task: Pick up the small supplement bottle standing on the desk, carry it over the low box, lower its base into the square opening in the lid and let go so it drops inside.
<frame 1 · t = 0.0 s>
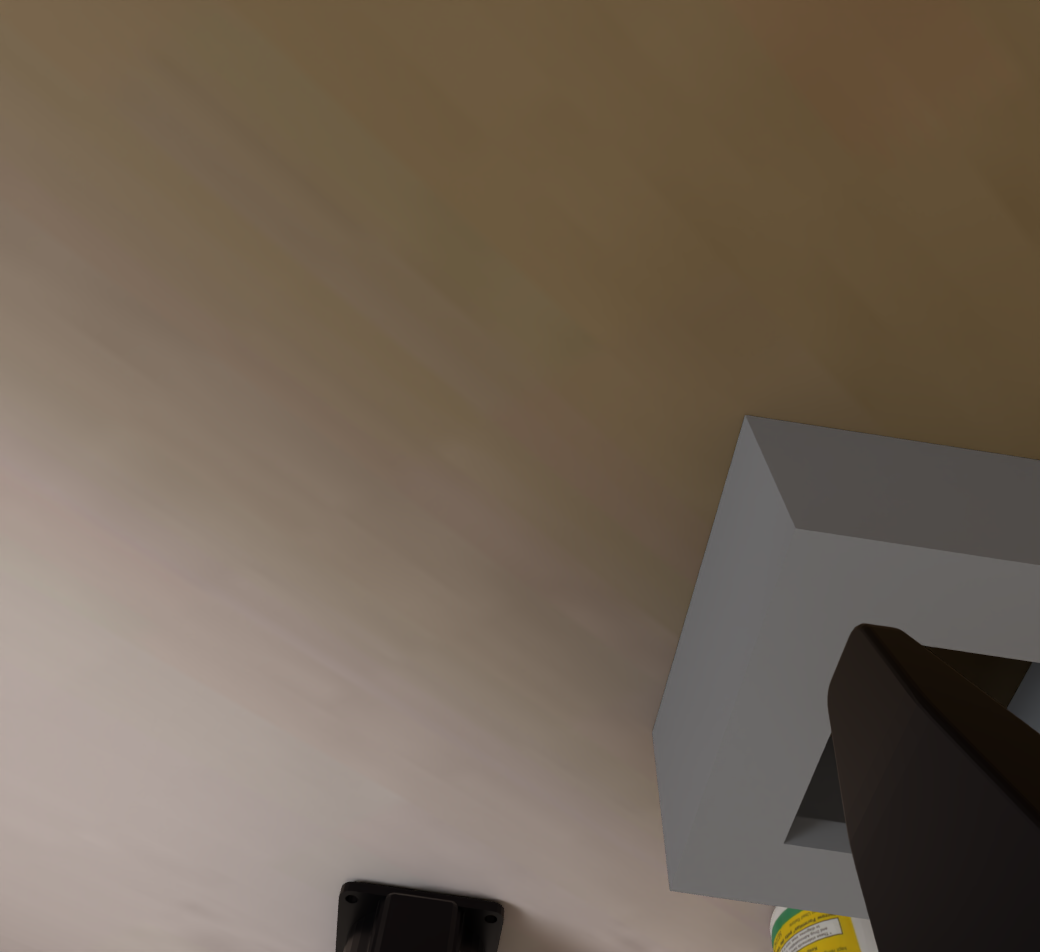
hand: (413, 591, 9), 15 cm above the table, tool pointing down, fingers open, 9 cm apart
supplement bottle: (835, 911, 33), on the table
drop box: (884, 619, 26), on the table
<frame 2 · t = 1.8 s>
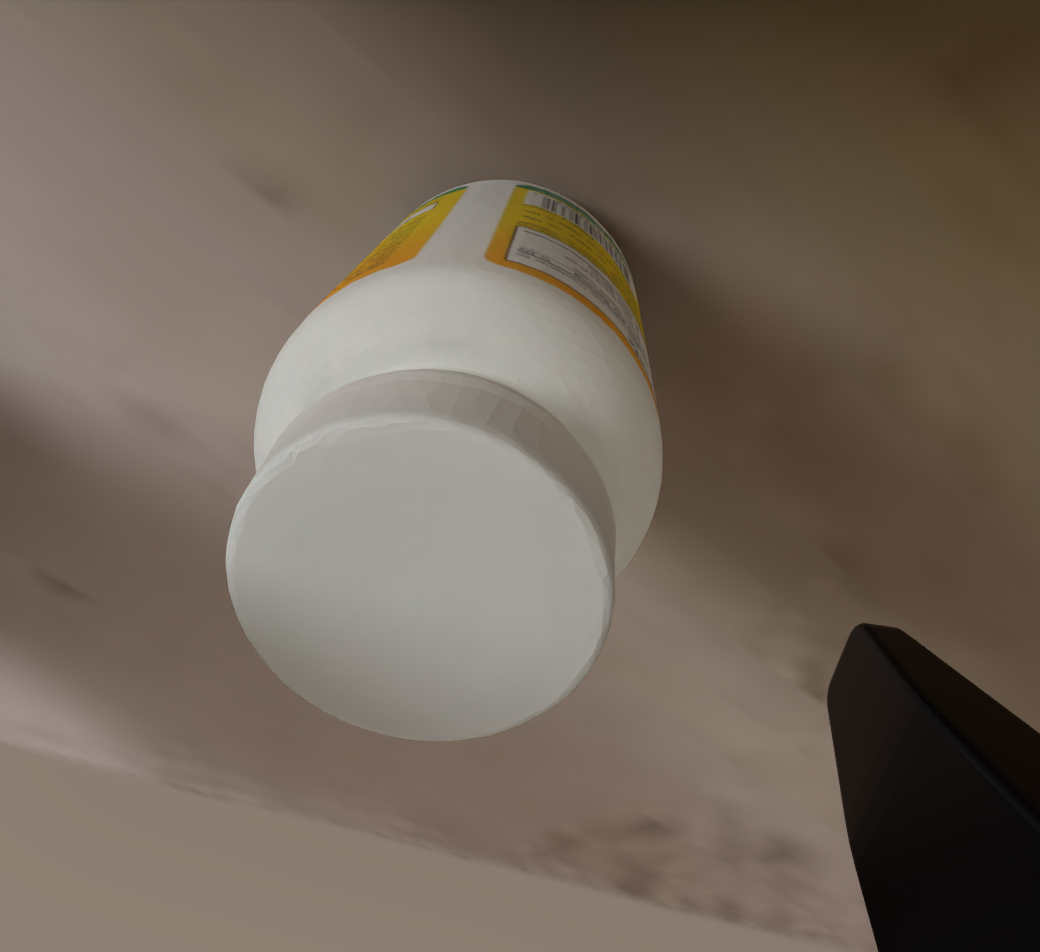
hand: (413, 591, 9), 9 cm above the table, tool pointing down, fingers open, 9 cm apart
supplement bottle: (501, 311, 17), on the table
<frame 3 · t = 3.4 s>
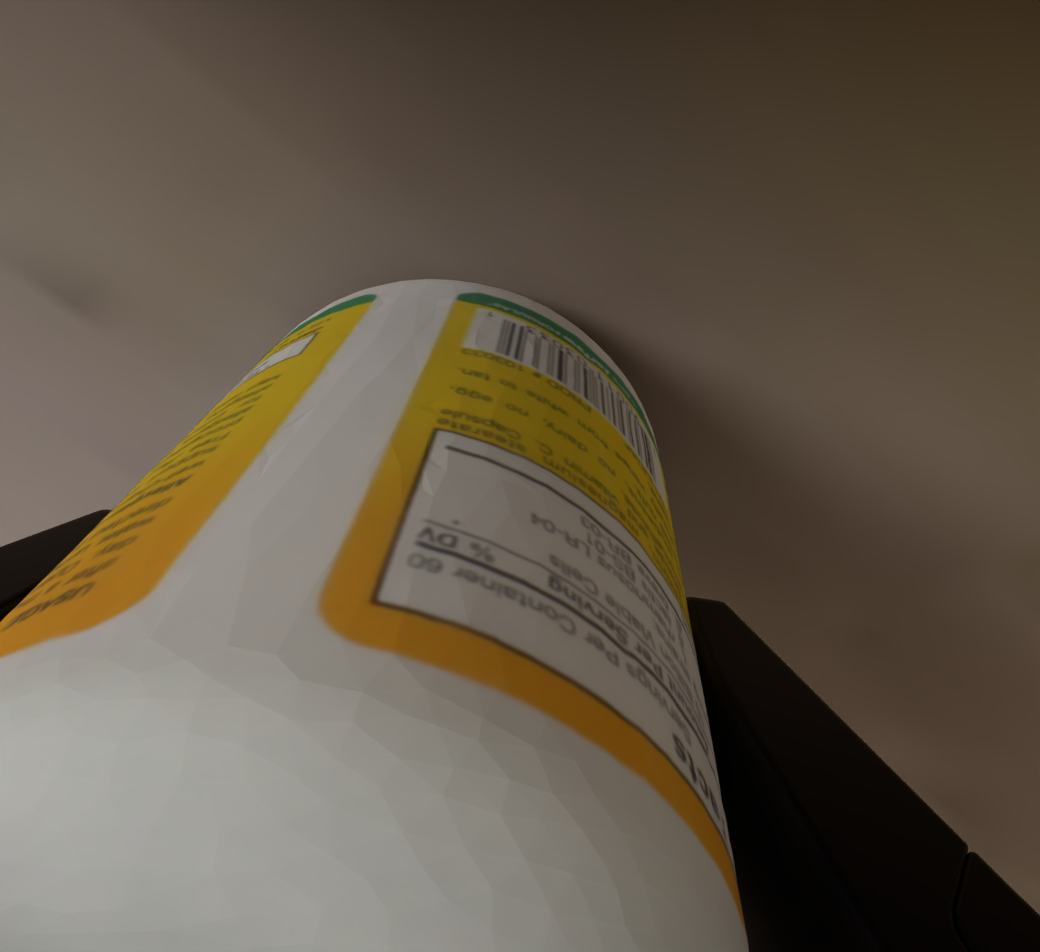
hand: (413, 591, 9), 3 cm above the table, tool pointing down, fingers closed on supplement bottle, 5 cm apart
supplement bottle: (447, 469, 11), on the table, touching gripper
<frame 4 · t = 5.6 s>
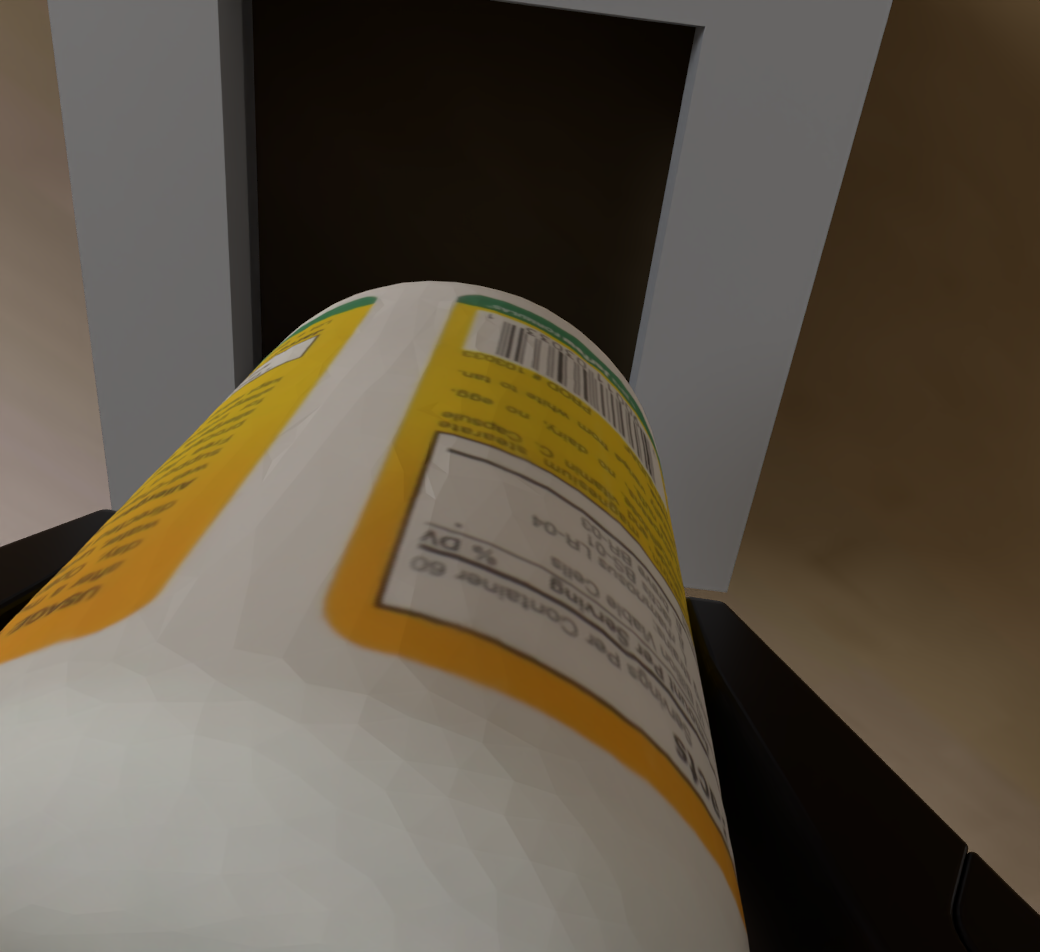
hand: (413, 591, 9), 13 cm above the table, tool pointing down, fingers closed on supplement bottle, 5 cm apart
supplement bottle: (447, 469, 11), point 10 cm above the table, touching gripper
drop box: (478, 185, 19), on the table
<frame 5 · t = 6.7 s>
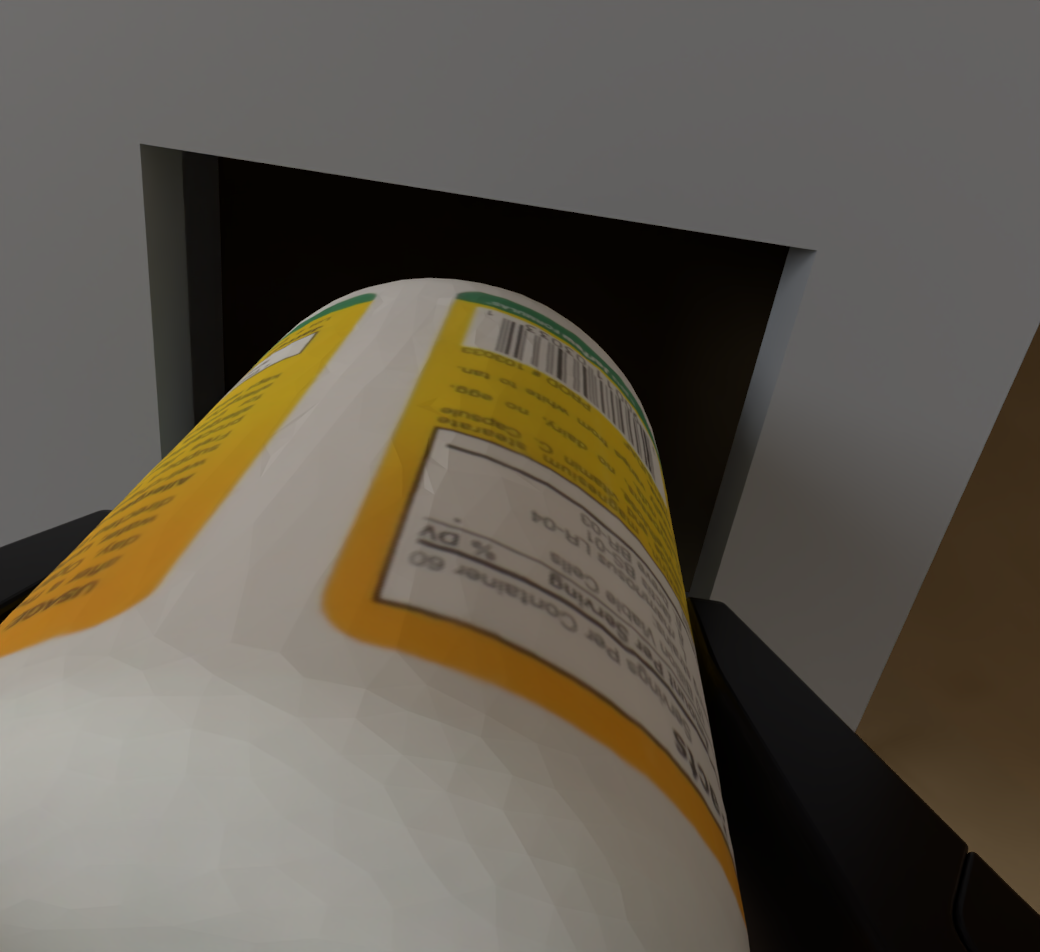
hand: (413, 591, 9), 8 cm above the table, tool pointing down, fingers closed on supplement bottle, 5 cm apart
supplement bottle: (447, 467, 11), point 5 cm above the table, touching gripper
drop box: (490, 334, 16), on the table
when the fingers open (8 cm above the table, at t = 7.7 s): supplement bottle drops 5 cm, resting in drop box.
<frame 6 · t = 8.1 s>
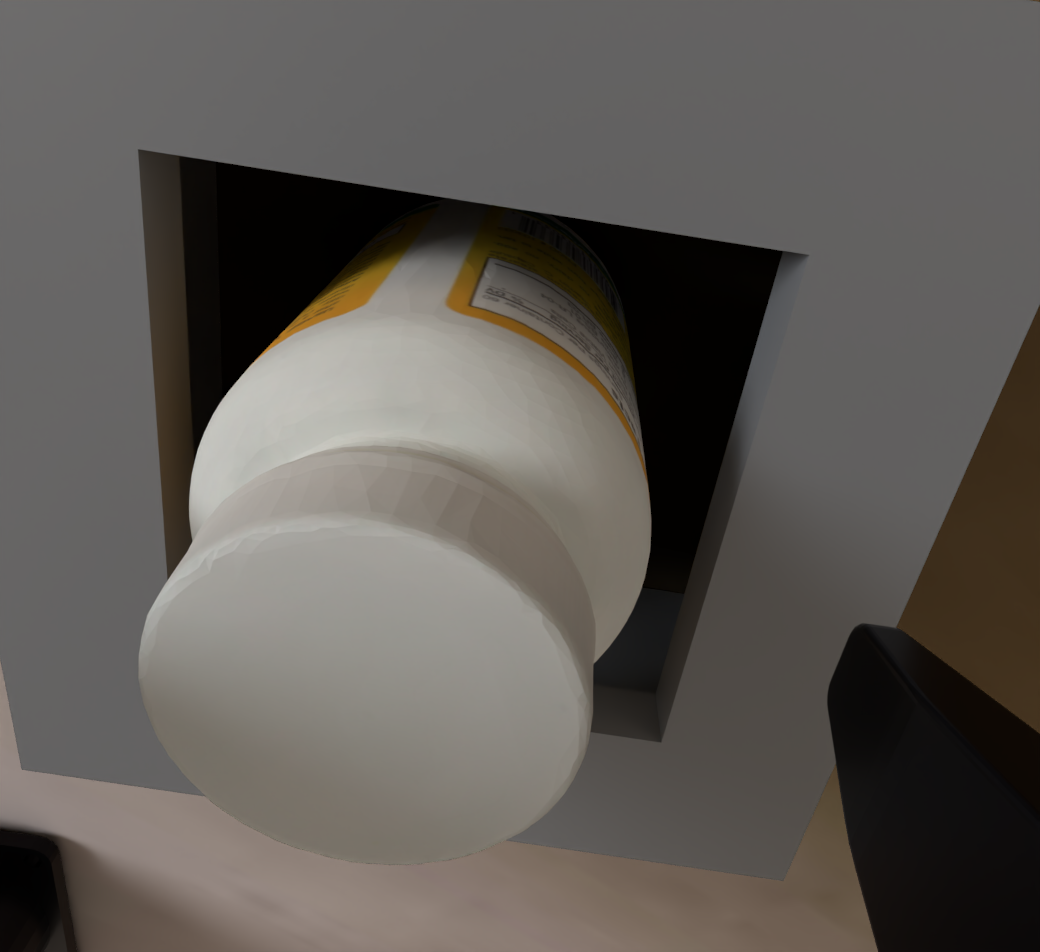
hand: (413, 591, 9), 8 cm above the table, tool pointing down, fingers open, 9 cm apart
supplement bottle: (480, 335, 16), resting in drop box
drop box: (487, 337, 16), on the table
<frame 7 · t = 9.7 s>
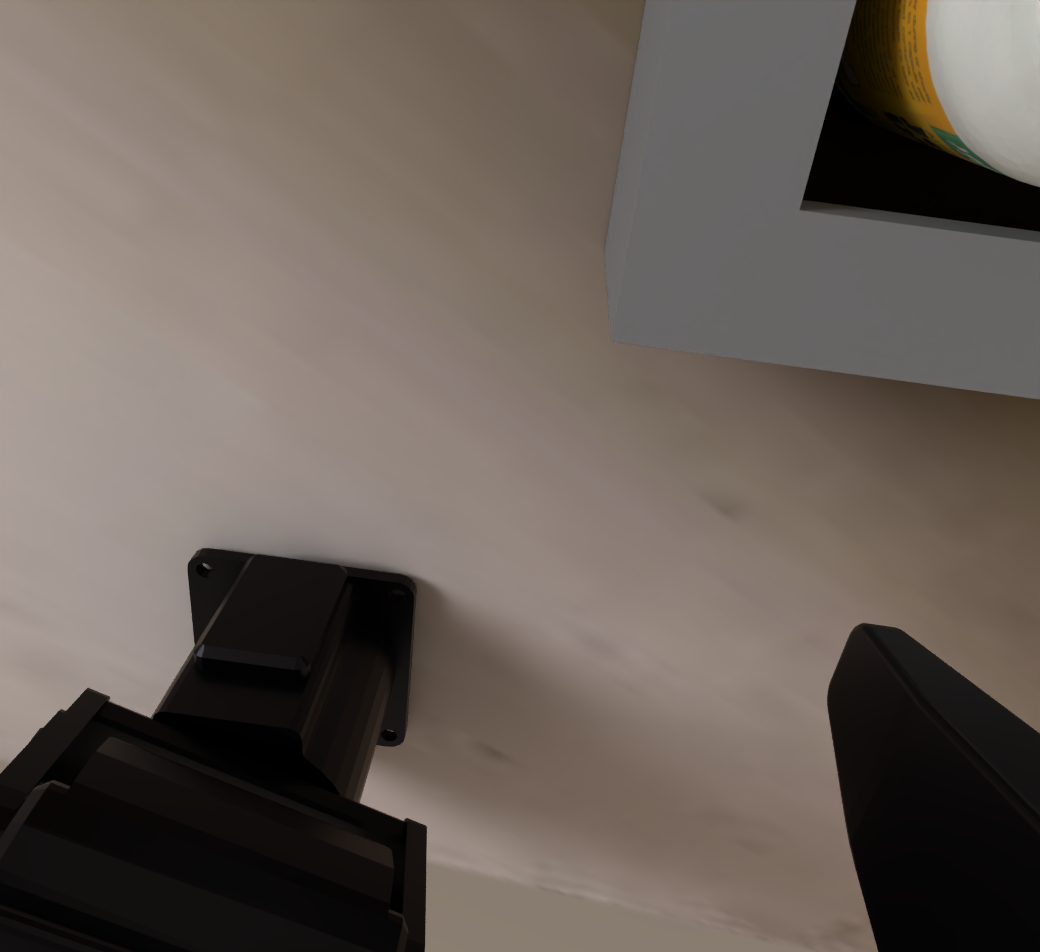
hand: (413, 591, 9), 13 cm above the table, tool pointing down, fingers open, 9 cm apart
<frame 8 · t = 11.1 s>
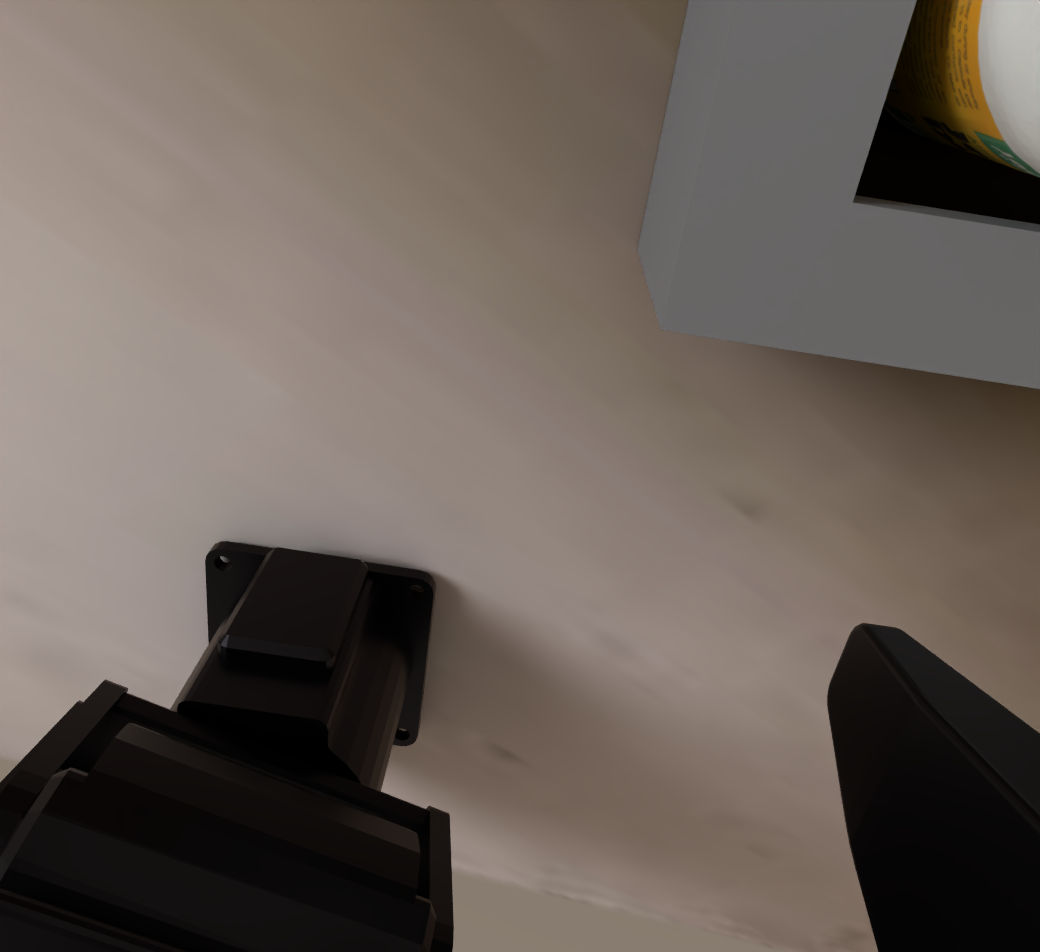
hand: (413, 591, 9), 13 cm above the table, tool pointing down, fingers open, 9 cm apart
supplement bottle: (981, 0, 17), resting in drop box
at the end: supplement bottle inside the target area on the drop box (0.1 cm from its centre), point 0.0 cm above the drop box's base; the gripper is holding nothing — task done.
